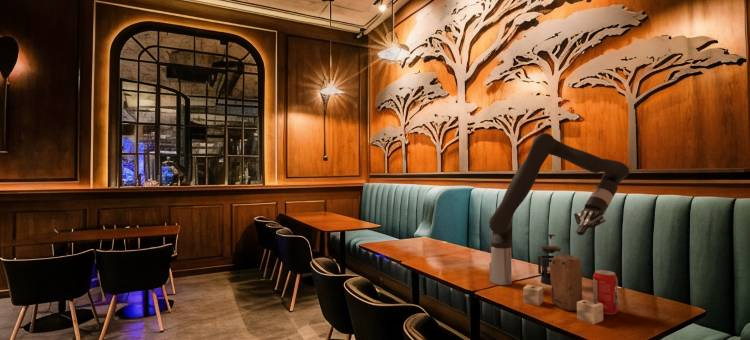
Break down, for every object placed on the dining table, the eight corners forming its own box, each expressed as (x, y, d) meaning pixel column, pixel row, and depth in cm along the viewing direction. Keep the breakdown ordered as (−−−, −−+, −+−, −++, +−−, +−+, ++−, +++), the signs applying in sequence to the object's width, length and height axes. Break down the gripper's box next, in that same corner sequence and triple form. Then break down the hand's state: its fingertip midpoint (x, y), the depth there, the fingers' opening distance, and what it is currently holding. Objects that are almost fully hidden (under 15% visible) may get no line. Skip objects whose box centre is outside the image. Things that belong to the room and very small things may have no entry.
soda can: (588, 310, 141) (588, 270, 141) (602, 306, 144) (601, 268, 144) (608, 317, 133) (608, 275, 134) (623, 313, 136) (622, 273, 137)
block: (584, 310, 140) (583, 258, 140) (568, 313, 138) (567, 259, 138) (562, 301, 150) (562, 252, 150) (547, 303, 148) (546, 253, 148)
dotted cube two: (576, 318, 133) (576, 301, 133) (586, 315, 136) (585, 298, 136) (594, 324, 128) (593, 306, 128) (603, 320, 131) (602, 303, 131)
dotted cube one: (523, 302, 150) (523, 287, 150) (528, 298, 154) (527, 283, 154) (538, 306, 146) (538, 290, 146) (543, 301, 150) (543, 286, 150)
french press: (568, 283, 174) (567, 235, 174) (555, 287, 169) (555, 237, 169) (545, 277, 184) (544, 231, 184) (533, 280, 179) (532, 233, 179)
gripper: (579, 195, 157) (560, 225, 152) (610, 196, 145) (589, 229, 140) (588, 206, 160) (569, 237, 154) (619, 209, 147) (599, 242, 142)
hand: (579, 233), depth 147 cm, fingers closed
